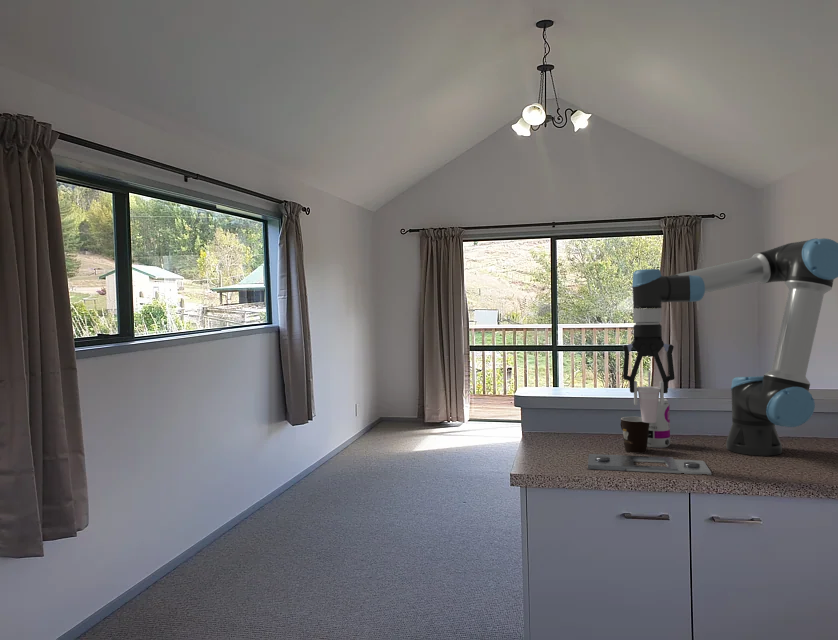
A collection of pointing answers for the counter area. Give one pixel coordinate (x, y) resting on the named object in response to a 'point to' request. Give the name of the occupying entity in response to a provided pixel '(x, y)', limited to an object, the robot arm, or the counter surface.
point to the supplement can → (660, 427)
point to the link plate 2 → (680, 467)
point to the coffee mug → (635, 434)
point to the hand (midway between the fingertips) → (648, 404)
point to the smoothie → (648, 402)
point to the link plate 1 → (627, 462)
